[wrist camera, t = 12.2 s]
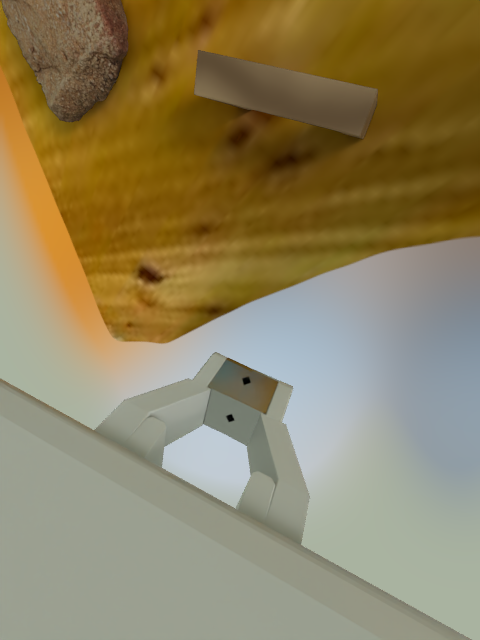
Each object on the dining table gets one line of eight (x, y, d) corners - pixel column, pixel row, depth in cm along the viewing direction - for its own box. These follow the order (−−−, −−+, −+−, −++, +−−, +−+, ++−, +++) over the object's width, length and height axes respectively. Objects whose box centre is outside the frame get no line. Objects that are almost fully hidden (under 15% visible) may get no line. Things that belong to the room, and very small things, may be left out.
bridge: (240, 73, 32) (198, 49, 24) (376, 104, 29) (377, 89, 21) (235, 106, 34) (193, 94, 26) (363, 139, 31) (359, 136, 23)
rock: (137, 84, 33) (40, 130, 37) (162, 91, 39) (76, 130, 43) (28, -211, 24) (-84, -103, 28) (83, -143, 29) (-17, -63, 34)
